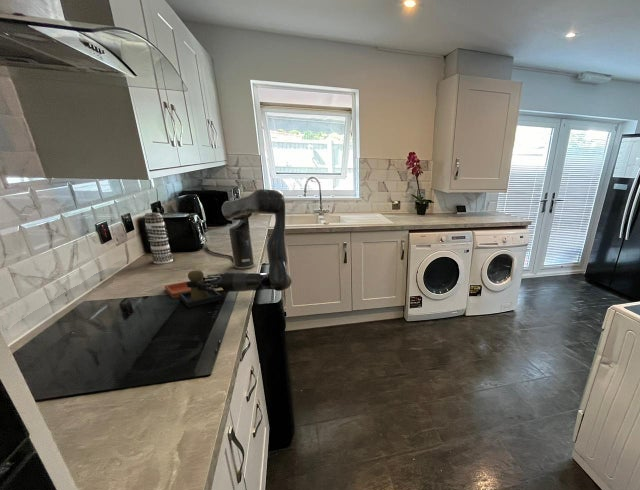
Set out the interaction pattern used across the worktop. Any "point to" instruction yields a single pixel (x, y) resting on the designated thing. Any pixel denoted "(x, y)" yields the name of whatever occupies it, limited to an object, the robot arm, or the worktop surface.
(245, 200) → the robot arm
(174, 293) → the terracotta tray
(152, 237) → the white patterned cylinder
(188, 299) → the charcoal tray
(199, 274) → the cork
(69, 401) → the worktop surface
